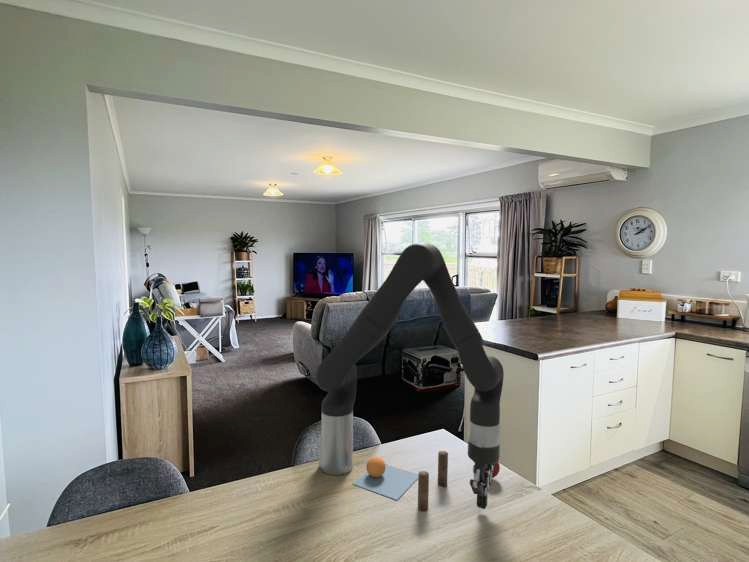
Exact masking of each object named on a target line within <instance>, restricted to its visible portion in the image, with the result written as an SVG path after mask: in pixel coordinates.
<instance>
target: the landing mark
mask: <svg viewBox="0 0 749 562" xmlns="http://www.w3.org/2000/svg"><path fill="white" fill-rule="evenodd" d="M385 465H386V469H385V472H384V474H383V475H382V476H380V477H372V476H370V475H369V474H368V472H367V471H366V472H365V473H363V474H362V475H361V476H360V477H358V479H355V481H353V482H352V485H354V486H356V487H359V488H362V489H363V490H364V489H365V490H367V491H370V492H373V493H375V494H378V495H381V496H383V497H386V498H389V499H391V500H395V501H398V500H400V498H401V497H402V496H403V495H404V494H405V493H406V492H407V491H408V490H409V489H410V488H411V487H412V485H414V484H415V482H417V481H418V473H414V472H411V471H408V470H405V469H403V468H399V467H396V466H393V465H389V464H386V463H385Z"/></svg>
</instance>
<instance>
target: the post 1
mask: <svg viewBox="0 0 749 562" xmlns="http://www.w3.org/2000/svg"><path fill="white" fill-rule="evenodd" d="M417 474H418V479H417V509H418V511H420V512H427V511H428V510H429V488H430V487H429V485H430V483H429V482H430V478H429V477H430V474H429V472H428V471H424V470H421V471H419V472H418V473H417Z"/></svg>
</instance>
